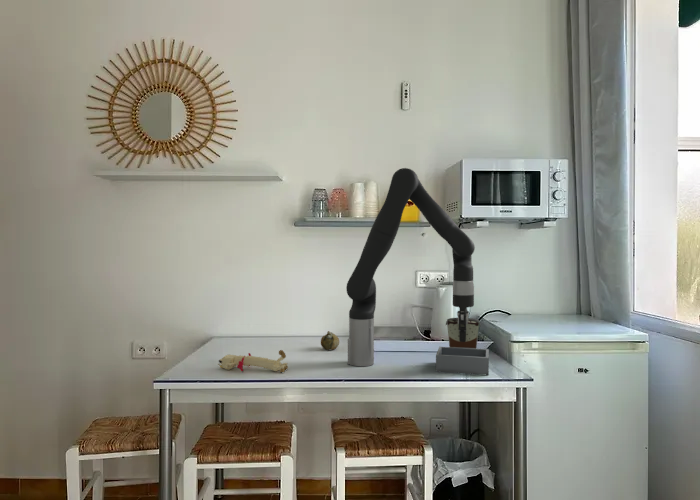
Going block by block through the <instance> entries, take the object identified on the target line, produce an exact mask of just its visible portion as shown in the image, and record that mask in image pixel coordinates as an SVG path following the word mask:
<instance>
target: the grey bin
mask: <svg viewBox="0 0 700 500" xmlns="http://www.w3.org/2000/svg"><path fill="white" fill-rule="evenodd" d="M489 355H490V351H489V348H476V349H468V348H449V346H439V347H438V350H437V351H436V354H435V372H436V373H445V374H447V373H450V374H460V373H465V375H476V374H486V375H485V376H489V371H490V370H489V367H490V365H489V363H490V358H489V357H490V356H489Z"/></svg>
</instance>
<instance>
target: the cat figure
mask: <svg viewBox="0 0 700 500" xmlns="http://www.w3.org/2000/svg"><path fill="white" fill-rule="evenodd" d="M278 355H279V356H280V357H279V358H277V359H269V358H268V357H261V356H253V355H251V353H250V352H248V355H241V354H240V355H235V354H227V355H225V356H222V357H221V358H220V359H219V360H218V363H217V365H218V366H219V368H222V369H225V370H228V371H230V370H232V369H234V368H235V367H236V366H237V369H239V370H240V371H241V372H242V371H243V372H244V369H243V367H245V366H246V367H249V366H251V367H258V368H259V367H260V368H262V369H267V370H271V371H273V372H280V373H281V372H284V373H285V370H286V369H287V370H288V368H289V366H288V362H283V363H282V362H281V361H283V360H285V358H287V354H286V352H285V351H284V350H282V349H280V350H278ZM287 370H286V371H287Z"/></svg>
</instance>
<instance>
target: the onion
mask: <svg viewBox="0 0 700 500" xmlns="http://www.w3.org/2000/svg"><path fill="white" fill-rule="evenodd" d="M320 345H321V347H322V349H323V350H326V351H333V350H335V349H337V348H338V347H339V345H340V339H339V337H338V335H336V334H335V333H333V332H331V331H329V330H328V331H327V332H326V334H325V335H323V336H322V337H321V338H320Z"/></svg>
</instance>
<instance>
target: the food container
mask: <svg viewBox="0 0 700 500" xmlns="http://www.w3.org/2000/svg"><path fill="white" fill-rule="evenodd" d="M481 325H482V324H481V322H480V320H479V319H477V318H471V317H468V324H467V325H466V329H467V331H466V341H465V342H460V341H459V329H458V328H459V324H458V317H451V318H447V319H446V321H445V326H446V327H447V336H448V345H449V346H448V347H449V348H468V349H478V347H477V346H478V339H479V338H478V337H479V330H480V327H481ZM461 327H464V325H461Z"/></svg>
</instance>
